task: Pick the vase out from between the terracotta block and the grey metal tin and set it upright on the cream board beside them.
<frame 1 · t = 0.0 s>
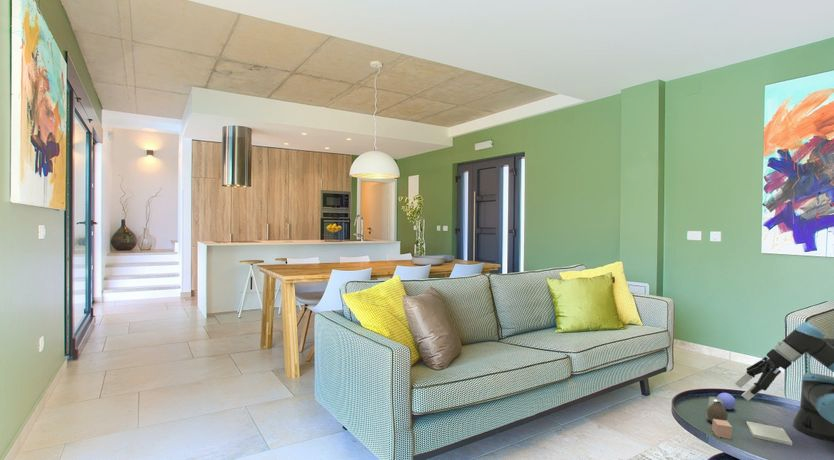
hand: (740, 391, 178), 15 cm above the table, tool tilted 35°, fingers open, 13 cm apart
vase: (716, 423, 184), on the table
board: (768, 434, 175), on the table
sphere: (725, 409, 197), on the table
metal tin: (714, 412, 193), on the table
terracotta block: (721, 435, 174), on the table
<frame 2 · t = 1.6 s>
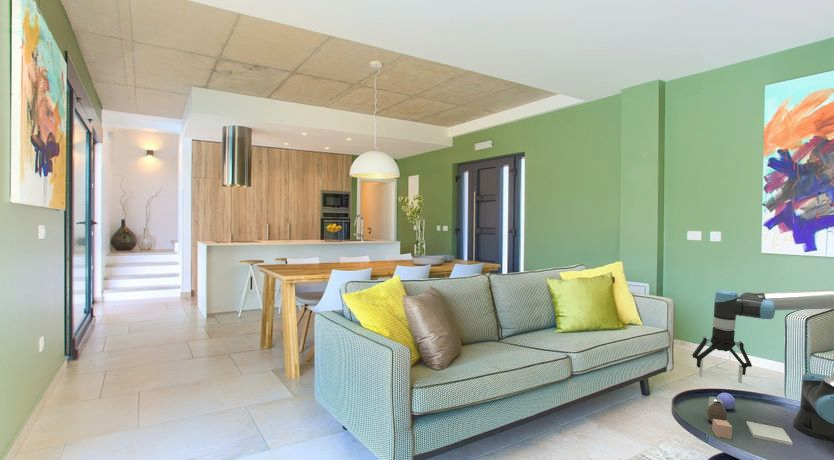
hand: (719, 378, 183), 19 cm above the table, tool pointing down, fingers open, 13 cm apart
nothing on the table moved.
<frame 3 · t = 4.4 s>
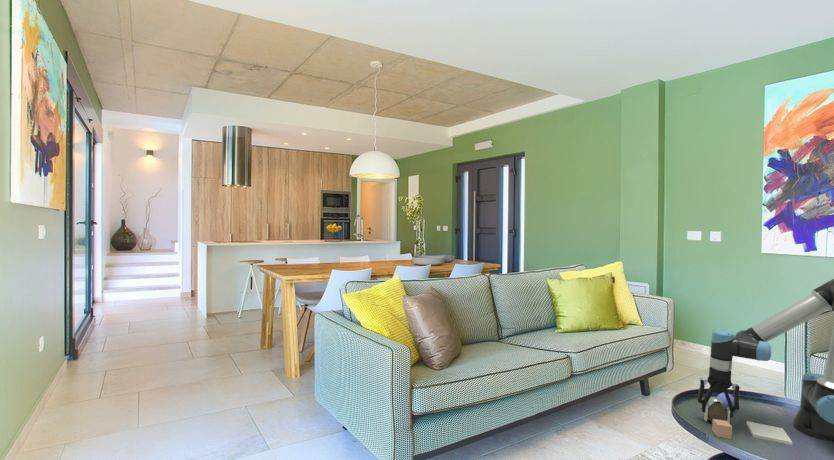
hand: (716, 422, 184), 0 cm above the table, tool pointing down, fingers closed on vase, 7 cm apart
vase: (716, 423, 184), on the table, touching gripper
everything else where it was.
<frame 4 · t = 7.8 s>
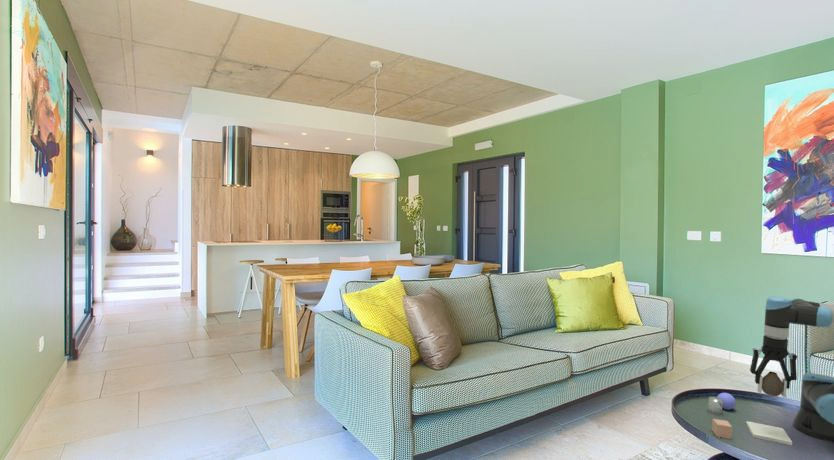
hand: (771, 393, 174), 16 cm above the table, tool pointing down, fingers closed on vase, 7 cm apart
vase: (771, 394, 174), point 16 cm above the table, touching gripper
everything else where it was.
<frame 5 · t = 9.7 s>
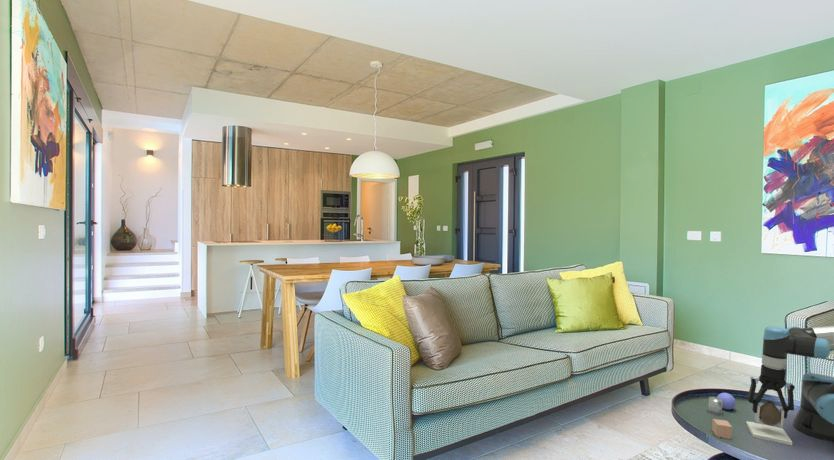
hand: (768, 423, 175), 5 cm above the table, tool pointing down, fingers closed on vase, 7 cm apart
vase: (768, 424, 175), point 4 cm above the table, touching gripper
everything else where it was.
when the fingers open (3 cm above the table, at t = 11.0 s): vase drops 1 cm, resting on board.
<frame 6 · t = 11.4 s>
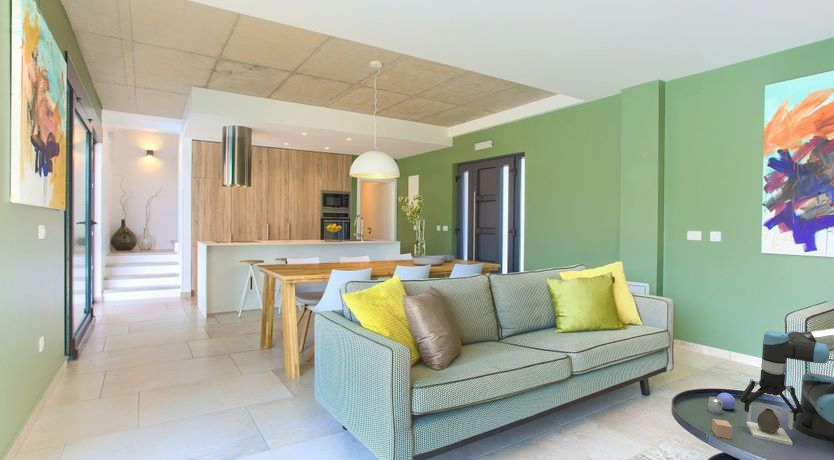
hand: (768, 424, 175), 4 cm above the table, tool pointing down, fingers open, 12 cm apart
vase: (767, 431, 175), point 1 cm above the table, touching board
everything else where it was.
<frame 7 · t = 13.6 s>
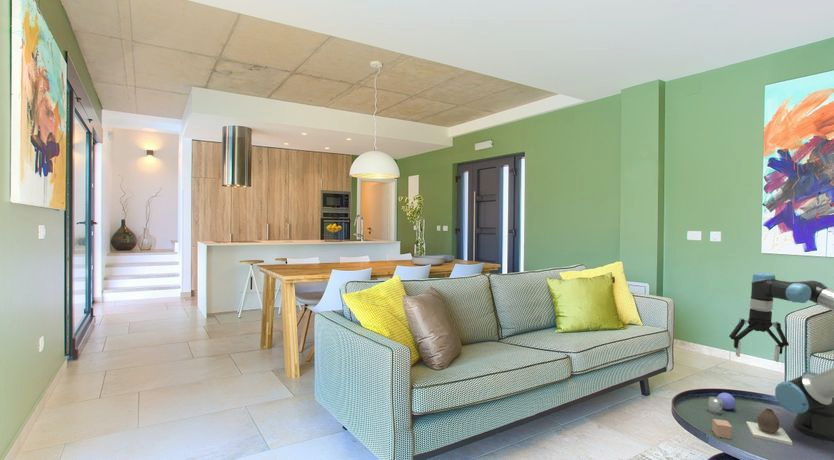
hand: (756, 358, 188), 26 cm above the table, tool pointing down, fingers open, 13 cm apart
nothing on the table moved.
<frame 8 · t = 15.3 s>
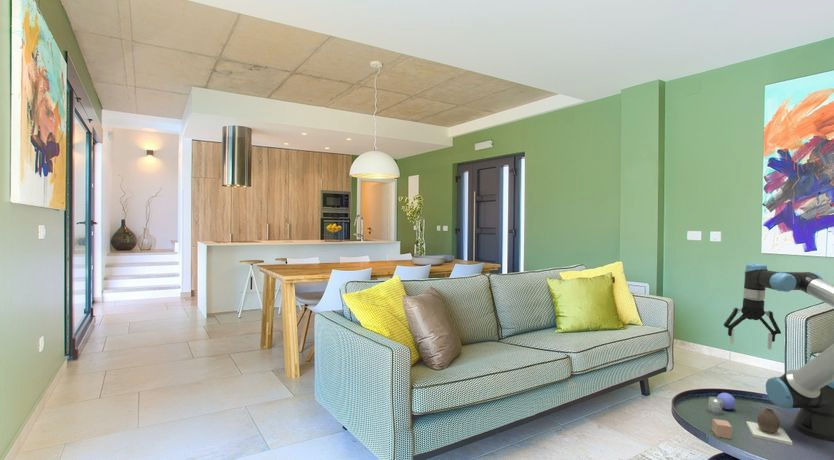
hand: (750, 346, 196), 29 cm above the table, tool pointing down, fingers open, 13 cm apart
nothing on the table moved.
at the end: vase inside the target area on the board (0.2 cm from its centre), point 1.0 cm above the board's base; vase tilted 0°; the gripper is holding nothing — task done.
